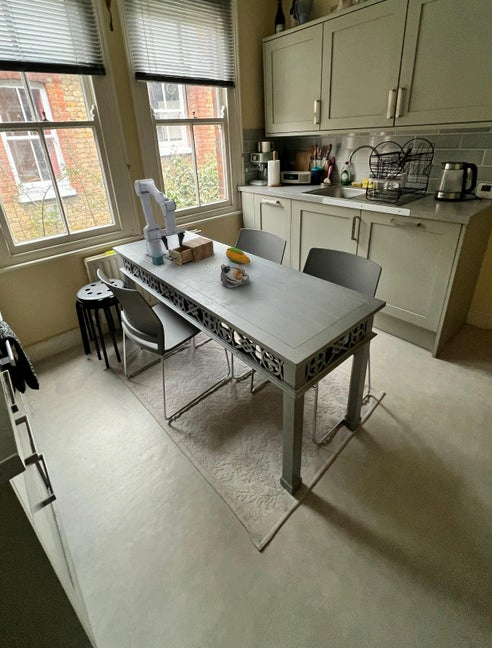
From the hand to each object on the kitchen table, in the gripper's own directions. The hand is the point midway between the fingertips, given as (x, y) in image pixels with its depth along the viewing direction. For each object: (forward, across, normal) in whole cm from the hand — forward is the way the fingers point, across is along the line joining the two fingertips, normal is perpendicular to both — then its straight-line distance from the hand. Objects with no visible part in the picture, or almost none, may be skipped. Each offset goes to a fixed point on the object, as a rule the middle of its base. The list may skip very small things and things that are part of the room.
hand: (174, 248), depth 171 cm
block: (+10, -7, +9) cm, 15 cm away
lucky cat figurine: (+10, +14, -41) cm, 44 cm away
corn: (+10, +30, -18) cm, 36 cm away
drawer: (+9, +4, +2) cm, 10 cm away
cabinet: (+10, +16, +5) cm, 19 cm away
